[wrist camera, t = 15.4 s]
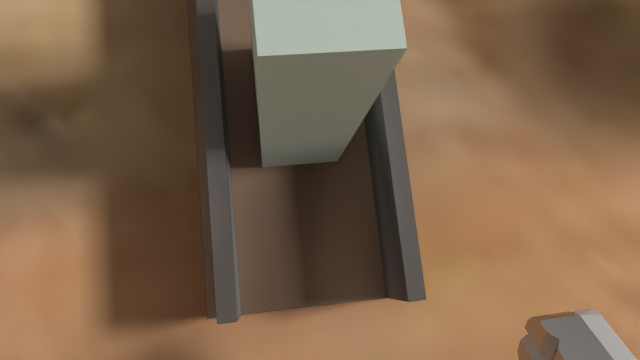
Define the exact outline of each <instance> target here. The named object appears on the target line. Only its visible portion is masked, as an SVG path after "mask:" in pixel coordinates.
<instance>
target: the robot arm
mask: <svg viewBox="0 0 640 360" xmlns="http://www.w3.org/2000/svg"><path fill="white" fill-rule="evenodd" d="M525 329H526V330H527V332H528V334H527V335H526V336H525V337H523V338H522V339H521V340H520V343H519V347H518V357H519V360H637V359H636V358H635V357H634V356H633V354H632V353H631V352H630V351H629V349H628V348H627V347H626V346H625V344H624V343H623V342H622V341H621V339H620V338H619V337H618V336H617V334H616V333H615V332H614V331H613V329H612V328H611V327H610V326H609V324H608V323H607V322H606V321H605V319H604V318H603V317H602V316H601V314H600V313H599V312H597V311H596V310H594V309H588V310H581V311H575V312H563V313H556V314H549V315H542V316H535V317H531V318H530V319H529V320H527V323H526V326H525Z"/></svg>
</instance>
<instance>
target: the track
mask: <svg viewBox="0 0 640 360" xmlns="http://www.w3.org/2000/svg"><path fill="white" fill-rule="evenodd" d="M188 13H189V30H190V46H191V62H192V79H193V95H194V111H195V128H196V144H197V160H198V177H199V193H200V209H201V226H202V242H203V259H204V275H205V291H206V308H207V318H216V317H217V324H223V323H231V322H237V321H238V319H239V318H240V316H241V315H242V314H250V313H259V312H268V311H276V310H285V309H294V308H302V307H311V306H320V305H329V304H337V303H346V302H355V301H363V300H372V299H381V298H390V299H396V300H402V301H407V302H411V301H419V300H426V293H425V286H424V279H423V272H422V265H421V258H420V250H419V243H418V236H417V229H416V222H415V215H414V208H413V200H412V193H411V186H410V179H409V172H408V165H407V157H406V150H405V143H404V136H403V129H402V122H401V115H400V107H399V100H398V93H397V86H396V79H395V72H394V70H393V72H392V74H391V75H390V77H389V78H388V80H387V82H386V83H385V85H384V87H383V88H382V90H381V91H380V93H379V95H378V96H377V98H376V100H375V101H374V103H373V104H372V106H371V108H370V109H369V111H368V113H367V114H366V116H365V117H364V119H363V121H362V122H361V124H360V126H359V127H358V129H357V130H356V132H355V134H354V135H353V137H352V139H351V140H350V142H349V143H348V145H347V147H346V148H345V150H344V152H343V153H342V155H341V156H340V158H339V160H338V161H334V162H322V163H310V164H298V165H285V166H273V167H262V159H261V148H260V137H259V125H258V114H257V103H256V91H255V80H254V69H253V58H252V45H251V30H250V15H249V0H188Z"/></svg>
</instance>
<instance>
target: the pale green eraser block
mask: <svg viewBox="0 0 640 360" xmlns="http://www.w3.org/2000/svg"><path fill="white" fill-rule="evenodd" d="M249 15H250V30H251V45H252V58H253V69H254V80H255V91H256V103H257V114H258V125H259V137H260V148H261V159H262V167H273V166H285V165H298V164H310V163H322V162H334V161H338V160H339V158H340V156H341V155H342V153H343V152H344V150H345V148H346V147H347V145H348V143H349V142H350V140H351V139H352V137H353V135H354V134H355V132H356V130H357V129H358V127H359V126H360V124H361V122H362V121H363V119H364V117H365V116H366V114H367V113H368V111H369V109H370V108H371V106H372V104H373V103H374V101H375V100H376V98H377V96H378V95H379V93H380V91H381V90H382V88H383V87H384V85H385V83H386V82H387V80H388V78H389V77H390V75H391V74H392V72H393V70H394V69H395V67H396V65H397V64H398V62H399V61H400V59H401V57H402V56H403V54H404V52H405V51H406V49H407V44H406V37H405V30H404V24H403V17H402V10H401V4H400V0H249Z"/></svg>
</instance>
